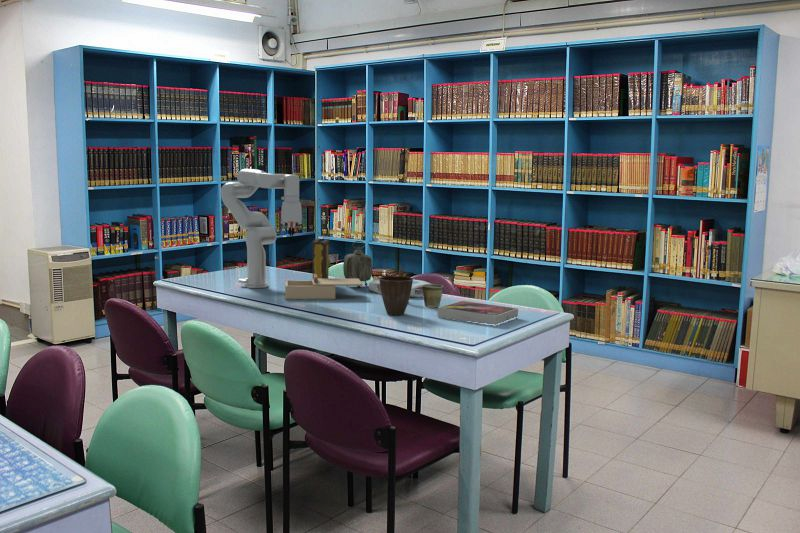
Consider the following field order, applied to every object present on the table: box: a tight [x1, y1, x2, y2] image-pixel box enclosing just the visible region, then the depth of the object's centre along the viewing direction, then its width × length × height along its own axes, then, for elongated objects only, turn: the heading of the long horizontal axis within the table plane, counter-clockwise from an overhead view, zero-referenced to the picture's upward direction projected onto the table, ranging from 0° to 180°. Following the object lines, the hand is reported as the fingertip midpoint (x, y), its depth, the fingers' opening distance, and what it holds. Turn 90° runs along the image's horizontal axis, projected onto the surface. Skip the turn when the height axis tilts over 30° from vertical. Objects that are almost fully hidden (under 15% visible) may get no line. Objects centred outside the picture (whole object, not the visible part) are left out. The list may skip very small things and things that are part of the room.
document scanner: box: [368, 278, 431, 298], centre depth 370 cm, size 21×28×6 cm
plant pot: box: [378, 275, 414, 316], centre depth 314 cm, size 15×15×16 cm
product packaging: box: [437, 300, 519, 325], centre depth 311 cm, size 22×28×5 cm
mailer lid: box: [311, 273, 363, 287], centre depth 354 cm, size 24×18×4 cm
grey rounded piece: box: [342, 240, 373, 289], centre depth 383 cm, size 14×9×25 cm, turn 108°
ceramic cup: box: [421, 283, 444, 309], centre depth 335 cm, size 13×10×10 cm
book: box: [312, 238, 332, 279], centre depth 382 cm, size 22×8×25 cm, turn 179°
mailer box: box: [284, 279, 336, 301], centre depth 353 cm, size 24×18×7 cm
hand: (291, 235), depth 359 cm, fingers closed
